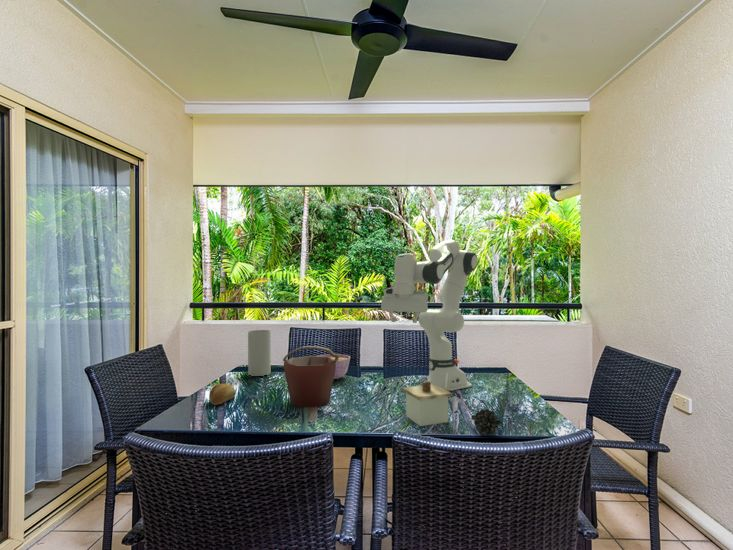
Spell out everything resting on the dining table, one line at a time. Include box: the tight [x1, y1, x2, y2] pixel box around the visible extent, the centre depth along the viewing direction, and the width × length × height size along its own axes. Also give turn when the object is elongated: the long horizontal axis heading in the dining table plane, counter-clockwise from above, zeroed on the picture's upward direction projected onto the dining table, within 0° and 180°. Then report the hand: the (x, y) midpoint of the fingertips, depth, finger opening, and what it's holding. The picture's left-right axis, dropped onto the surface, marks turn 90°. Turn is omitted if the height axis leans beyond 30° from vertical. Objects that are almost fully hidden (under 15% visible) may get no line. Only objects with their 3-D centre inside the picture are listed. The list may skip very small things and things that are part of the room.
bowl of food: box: [318, 353, 351, 380], centre depth 227 cm, size 20×20×12 cm
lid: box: [402, 380, 453, 400], centre depth 161 cm, size 14×14×5 cm
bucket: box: [282, 345, 339, 409], centre depth 183 cm, size 24×22×25 cm
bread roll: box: [209, 382, 236, 406], centre depth 186 cm, size 10×15×8 cm, turn 172°
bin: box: [405, 392, 449, 427], centre depth 161 cm, size 12×12×10 cm
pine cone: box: [471, 408, 502, 435], centre depth 149 cm, size 9×8×15 cm
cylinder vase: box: [247, 329, 272, 377], centre depth 237 cm, size 12×12×25 cm
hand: (404, 322), depth 178 cm, fingers open, 8 cm apart
